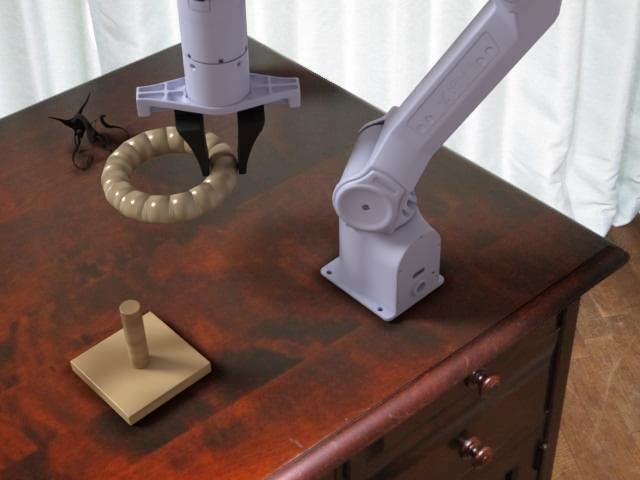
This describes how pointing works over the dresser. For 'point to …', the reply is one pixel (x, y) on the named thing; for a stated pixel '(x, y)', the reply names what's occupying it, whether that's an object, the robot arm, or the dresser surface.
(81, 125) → the creature
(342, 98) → the dresser surface
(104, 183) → the segmented beige ring
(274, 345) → the dresser surface
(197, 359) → the stand
